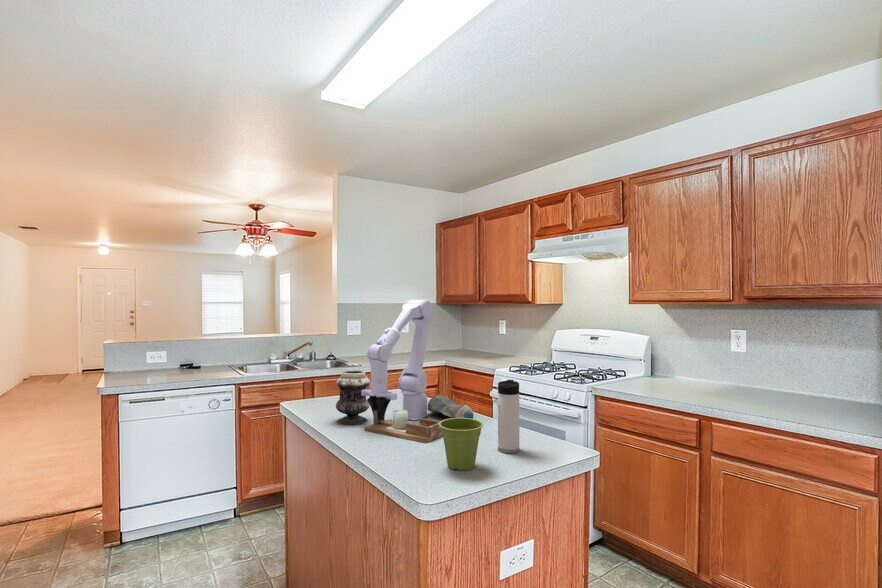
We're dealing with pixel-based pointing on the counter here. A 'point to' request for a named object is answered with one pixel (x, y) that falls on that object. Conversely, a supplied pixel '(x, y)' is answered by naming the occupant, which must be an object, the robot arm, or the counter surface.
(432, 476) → the counter surface
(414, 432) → the shelf lane
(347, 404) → the dark footed vase
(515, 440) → the travel mug
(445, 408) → the detergent
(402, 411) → the grey-headed mallet
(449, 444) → the plant pot
